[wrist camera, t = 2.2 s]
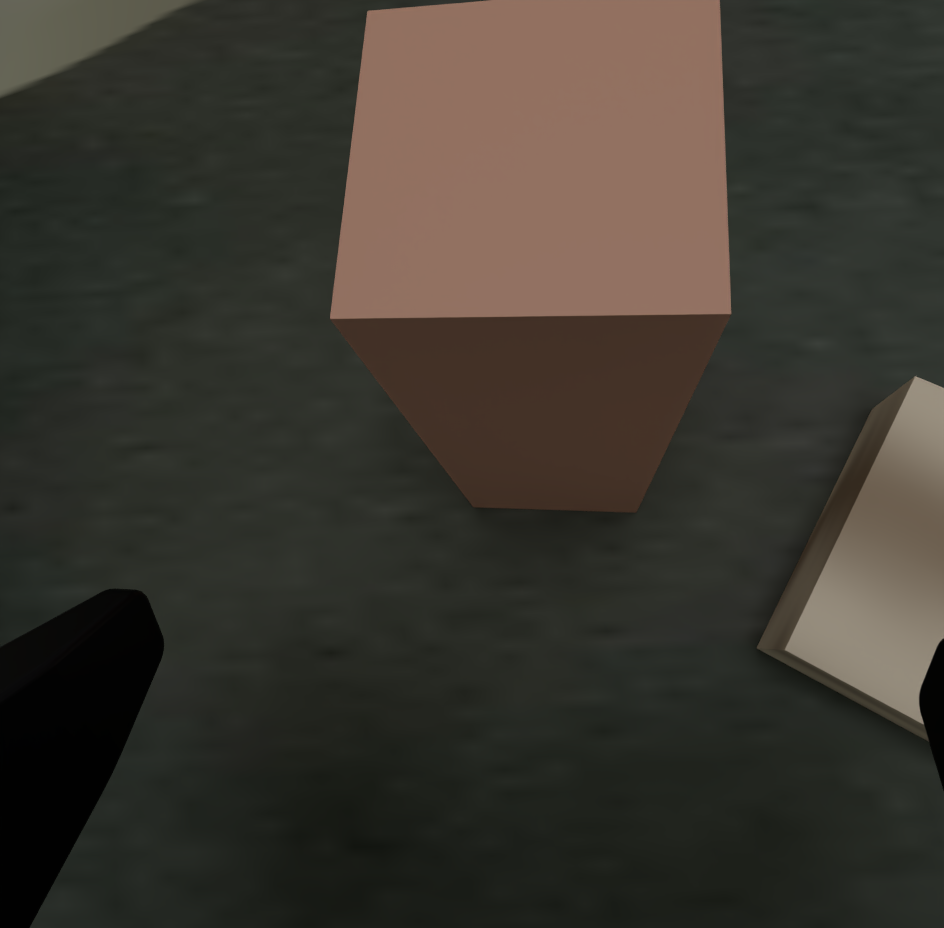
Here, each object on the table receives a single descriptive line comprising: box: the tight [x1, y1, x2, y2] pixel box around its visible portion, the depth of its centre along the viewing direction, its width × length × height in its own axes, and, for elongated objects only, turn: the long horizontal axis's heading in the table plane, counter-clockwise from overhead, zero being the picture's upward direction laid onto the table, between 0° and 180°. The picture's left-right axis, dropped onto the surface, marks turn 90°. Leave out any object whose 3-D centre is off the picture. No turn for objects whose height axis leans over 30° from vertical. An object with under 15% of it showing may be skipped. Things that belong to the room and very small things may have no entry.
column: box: [330, 0, 731, 513], centre depth 15 cm, size 5×5×13 cm
